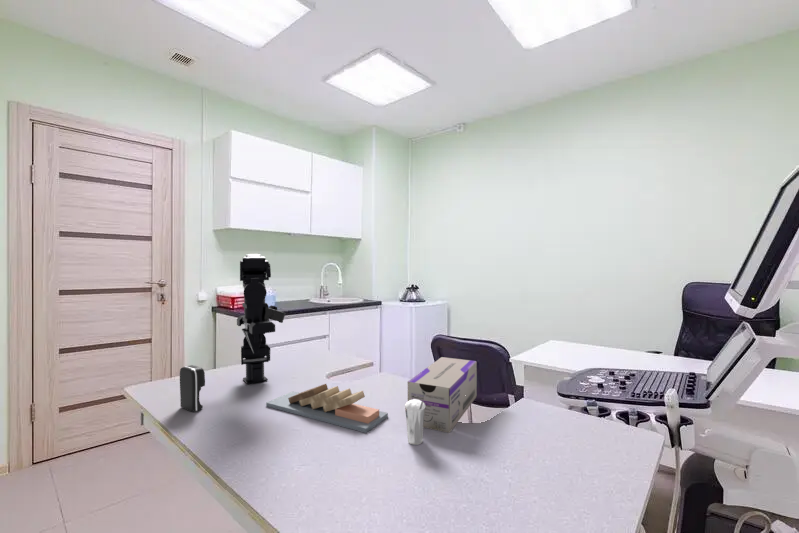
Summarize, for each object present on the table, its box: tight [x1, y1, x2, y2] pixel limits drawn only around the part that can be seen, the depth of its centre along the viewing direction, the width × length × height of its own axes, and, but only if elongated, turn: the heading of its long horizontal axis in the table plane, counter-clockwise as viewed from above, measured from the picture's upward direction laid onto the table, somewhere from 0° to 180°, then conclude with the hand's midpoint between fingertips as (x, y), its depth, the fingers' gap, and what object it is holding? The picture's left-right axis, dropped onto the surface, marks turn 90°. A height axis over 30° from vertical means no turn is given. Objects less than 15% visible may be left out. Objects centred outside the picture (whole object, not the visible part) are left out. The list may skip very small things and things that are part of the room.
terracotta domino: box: [335, 403, 380, 423], centre depth 96 cm, size 2×5×10 cm
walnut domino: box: [288, 383, 329, 404], centre depth 103 cm, size 2×5×10 cm
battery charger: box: [179, 364, 206, 413], centre depth 103 cm, size 7×4×11 cm, turn 57°
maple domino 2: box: [311, 388, 353, 409], centre depth 100 cm, size 2×5×10 cm
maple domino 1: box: [299, 385, 340, 406], centre depth 102 cm, size 2×5×10 cm
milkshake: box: [404, 399, 425, 446], centre depth 84 cm, size 4×5×10 cm
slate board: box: [265, 391, 389, 434], centre depth 101 cm, size 33×10×1 cm, turn 61°
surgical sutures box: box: [407, 356, 478, 434], centre depth 102 cm, size 25×11×11 cm, turn 154°
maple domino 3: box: [323, 390, 366, 412], centre depth 98 cm, size 2×5×10 cm
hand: (255, 353), depth 111 cm, fingers closed
